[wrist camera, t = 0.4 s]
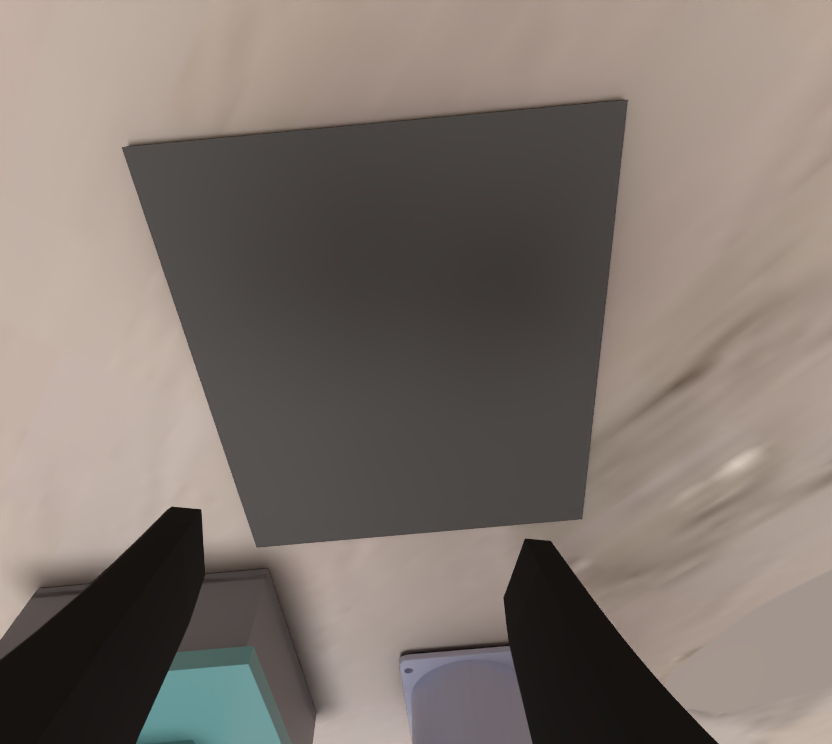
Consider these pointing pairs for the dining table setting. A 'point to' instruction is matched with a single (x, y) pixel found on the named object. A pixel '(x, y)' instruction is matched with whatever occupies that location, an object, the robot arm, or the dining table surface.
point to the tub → (215, 635)
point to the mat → (395, 313)
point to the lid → (215, 701)
